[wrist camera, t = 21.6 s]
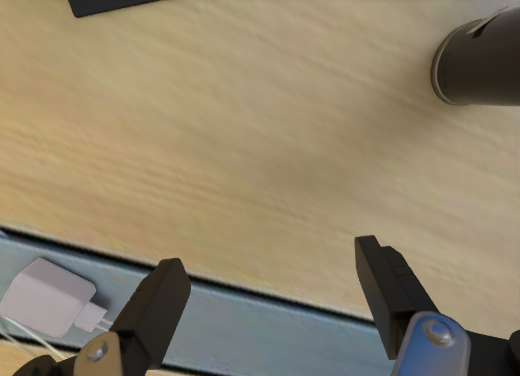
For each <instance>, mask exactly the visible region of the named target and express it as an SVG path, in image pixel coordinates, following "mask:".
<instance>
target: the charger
mask: <svg viewBox="0 0 520 376" xmlns="http://www.w3.org/2000/svg"><path fill="white" fill-rule="evenodd" d="M95 293H96V288H95V285H94V284H93V283H91V282H89V281H87V280H85V279H83V278H81V277H79V276H77V275H75V274H73V273H71V272H69V271H67V270H65V269H63V268H61V267H59V266H57V265H55V264H53V263H51V262H49V261H47V260H45V259H43V258H41V257H39V258H38V259H37V260H35V261H34V262H33V263H31V264H30V265H29V266H27V267H26V268H25V269H23V270H22V271H21V272H20V273H19V274H18V275H17V276H16V277H15V278H14V280H13V281H12V283H11V285H10V287H9V288H8V290H7V292H6V294H5V296H4V298H3V299H2V301H1V303H0V315H1V316H4V317H6V318H9V319H11V320H13V321H16V322H18V323H20V324H23V325H25V326H27V327H30V328H32V329H34V330H37V331H39V332H42V333H44V334H46V335H49V336H51V337H53V338H57V337H61V336H64V335H65V334H66V333H67V331H68V330H69V329H70V327H71V326H72V325H74V326H76V327H78V328H80V329H83V330H85V331H87V332H89V333H92V331H93V330H94V329H95V327H97V328H99V329H102V330H104V331H106V332H108V331H109V329H108V328H105V327H103V326H101V325H99V324H98V323H99V322H100V321H103V322H105V323H107V324H109V325H111V326H112V325H113V322H111V321H109V320H107V319H104V318H102V317H103V316H104V315H105V313H106V312H107V309H105V308H103V307H100V306H98V305H96V304H94V303H92V302H90V300H91V298H92V297H93V296H94V294H95Z"/></svg>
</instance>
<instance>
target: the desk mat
mask: <svg viewBox="0 0 520 376" xmlns="http://www.w3.org/2000/svg"><path fill="white" fill-rule="evenodd" d="M68 1H69V4H70V6H71V9H72V12H73V14H74V16H75V17H77V18H78V17H83V16H88V15H93V14H97V13H102V12H107V11H111V10H116V9H121V8H125V7H130V6H135V5H140V4H144V3H149V2H154V1H158V0H68Z"/></svg>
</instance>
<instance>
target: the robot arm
mask: <svg viewBox="0 0 520 376" xmlns="http://www.w3.org/2000/svg"><path fill="white" fill-rule="evenodd" d="M507 7H508V6H507ZM507 7H505V8H502V9H499V10H498V11H496V12H495V13H493V14H492V15H491V16H489V17H487V18H484V19H479V20H476V21H473V22H470V23H467V24H465V25H463V26H461V27H459V28H458V29H456V30H455V31H454V32H452V33H451V34H450V35H449V36H448V37H447V38H446V40H445V41H444V42H443V43H442V45H441V46H440V48H439V50H438V52H437V54H436V56H435V59H434V62H433V66H432V84H433V87H434V90H435V92H436V93H437V95H438V96H439V97H440V98H441V99H442V100H443V101H445V102H447V103H449V104H453V105H492V106H520V7H517V8H514V9H511V10H508V11H505V12H502V11H503V10H504V9H506V8H507ZM500 12H502V13H500ZM355 259H356V269H357V274H358V278H359V281H360V284H361V286H362V289H363V292H364V294H365V297H366V300H367V302H368V305H369V308H370V310H371V313H372V316H373V318H374V321H375V324H376V326H377V329H378V332H379V334H380V337H381V340H382V342H383V345H384V348H385V350H386V353H387V356H388V358H389V360H396V362H395V365H394V368H393V370H392V373H391V376H520V330H518V331H515V332H513V333H512V335H511V336H510V339H509V340H506V339H502V338H497V337H492V336H487V335H483V334H478V333H474V332H471V331H468V330H465V329H464V328H463V327H462V326H461V325H460V324H459V323H458V322H456V321H455V320H453V319H452V318H450V317H448V316H446V315H444V314H441V313H440V312H439V310H438V309H437V308H436V306H435V304H434V303H433V301H432V300H431V298H430V297H429V295H428V294H427V292H426V291H425V289H424V288H423V286H422V285H421V283H420V282H419V280H418V279H417V277H416V276H415V275H414V273H413V271H412V270H411V268H410V267H409V266H408V264H407V262H406V260H405V259H404V257H403V256H402V254H401V253H399V252H398V251H396V250H395V249H394V248H392V247H391V246H385V247H381V246H380V244H379V243H378V241H377V239H376V237H375V236H374V235H369V236H360V237H355ZM135 291H136V292H134V293H133V295H132V296H131V298H130V301H128V302H127V304H126V305H125V307H124V308H123V310H122V311H121V313H120V314H119V316H118V317H117V319H116V320H115V322H114V323H113V325H112V326H111V328H110V329H109V331H108V332H105V333H102V334H100V335H98V336H96V337H95V338H93V339H92V340H90V341H89V342H88V343H87V344H86V345H85V346H84V347H83V348H82V349H81V351H80V352H79V354H78V355H76V356H73V357H71V358H68V359H65V360H63V361H60V362H56V361H55V360H54V359H53V358H52V357H51V356H50V355H42V356H39V357H37V358H34V359H33V360H31V361H29V362H28V363H26V364H25V365H23V366H22V367H21V368H20V369H19V370H17V371H16V372H15V373H14V374H13V375H12V376H145V374H146V371H147V370H154V369H159V368H160V366H161V364H162V361H163V359H164V356H165V354H166V351H167V349H168V347H169V344H170V342H171V339H172V337H173V335H174V332H175V330H176V327H177V325H178V322H179V320H180V318H181V315H182V313H183V310H184V308H185V305H186V303H187V301H188V298H189V296H190V292H191V284H190V280H189V278H188V276H187V273H186V271H185V269H184V266H183V264H182V262H181V260H180V259H179V258H171V259H163V260H161V261H160V262H159V264H158V265H157V267H156V268H155V270H154V272H151V273H150V274H149V275H148V276H147V277H145V278H144V279H143V280H142V281H141V283H140V284H139V286H138V287H137V289H136V290H135Z"/></svg>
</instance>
